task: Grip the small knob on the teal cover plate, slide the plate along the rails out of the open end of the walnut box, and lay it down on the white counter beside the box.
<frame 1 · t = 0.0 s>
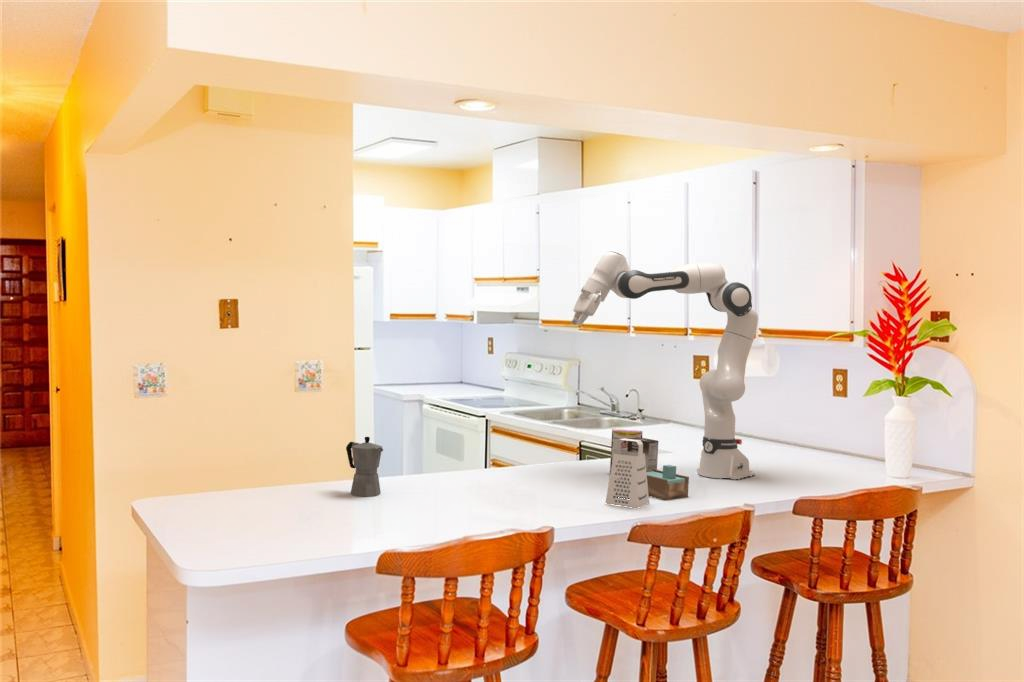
hand: (575, 324, 326), 54 cm above the table, tool tilted 30°, fingers open, 8 cm apart
walnut box: (658, 493, 299), on the table
coffeepot: (363, 494, 284), on the table
grater: (627, 504, 282), on the table
coffee box: (640, 486, 313), on the table
candy bar box: (625, 475, 332), on the table
cover plate: (660, 479, 299), point 5 cm above the table, touching walnut box
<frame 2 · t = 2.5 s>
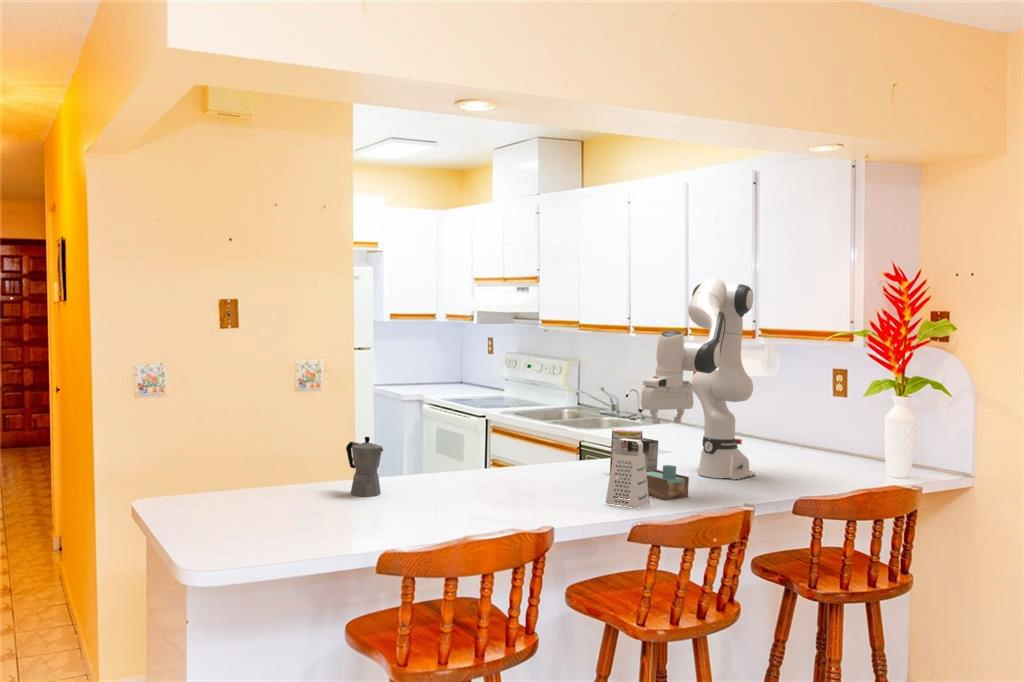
hand: (666, 423, 295), 24 cm above the table, tool pointing down, fingers open, 8 cm apart
nothing on the table moved.
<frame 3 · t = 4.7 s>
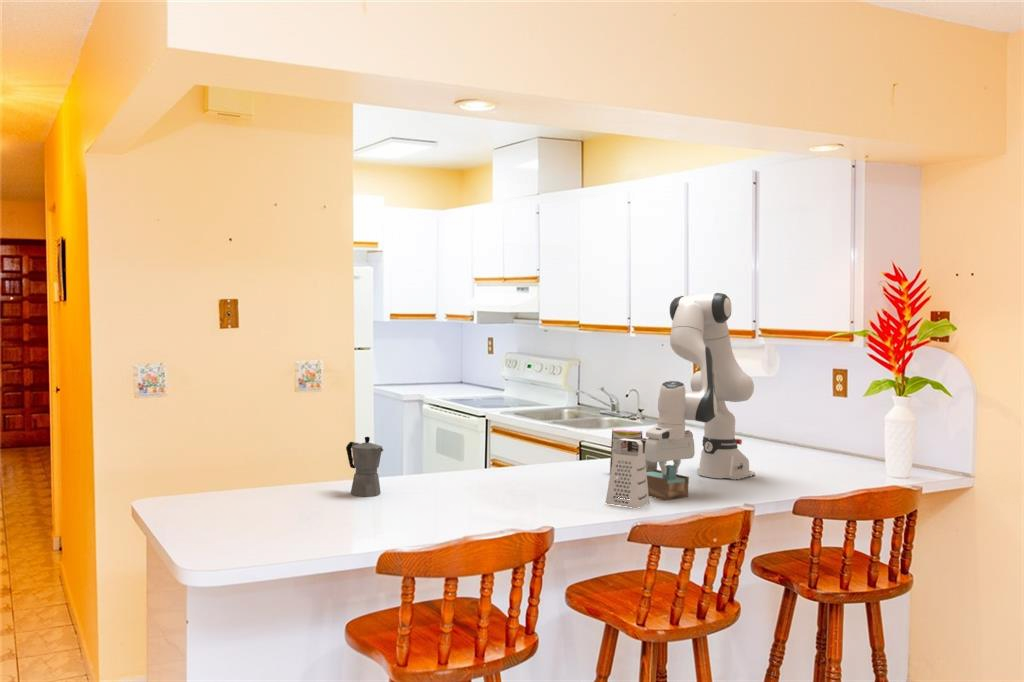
hand: (669, 473, 295), 7 cm above the table, tool pointing down, fingers closed on cover plate, 3 cm apart
cover plate: (660, 479, 299), point 5 cm above the table, touching gripper, walnut box
everything else where it was.
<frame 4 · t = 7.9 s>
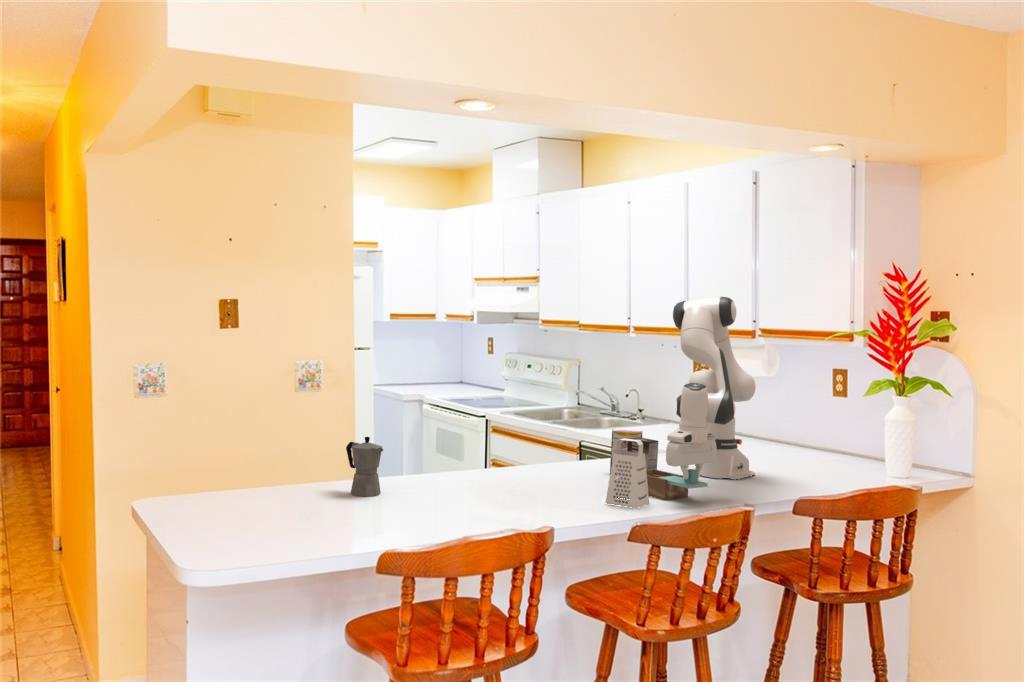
hand: (691, 478, 288), 8 cm above the table, tool pointing down, fingers closed on cover plate, 3 cm apart
cover plate: (681, 483, 291), point 5 cm above the table, touching gripper
everything else where it was.
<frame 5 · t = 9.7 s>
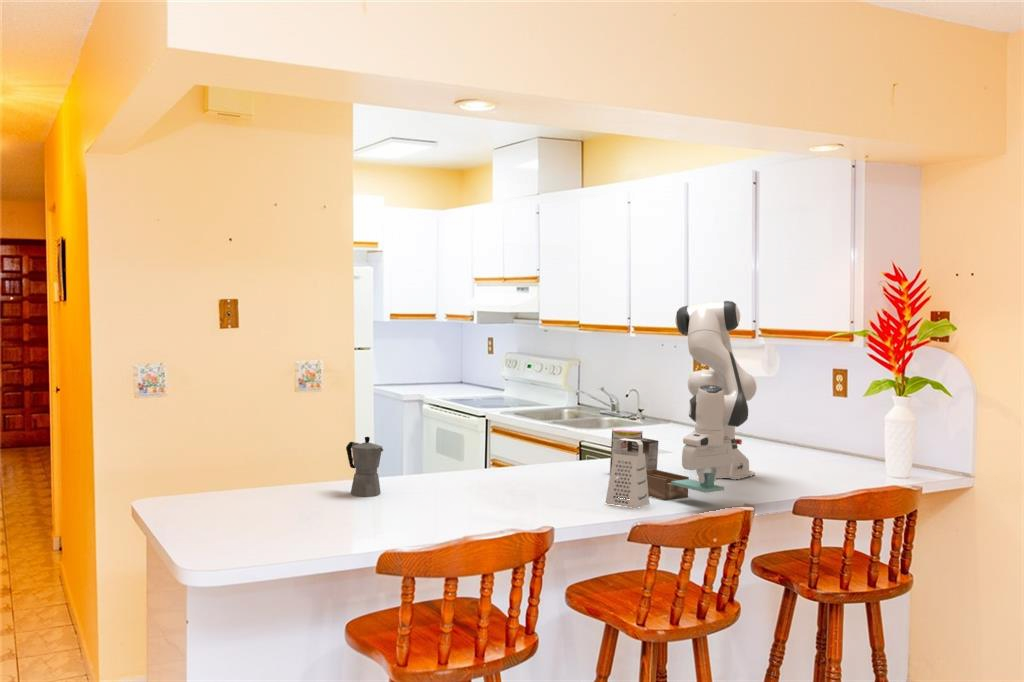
hand: (707, 481, 283), 8 cm above the table, tool pointing down, fingers closed on cover plate, 3 cm apart
cover plate: (697, 487, 286), point 5 cm above the table, touching gripper
everything else where it was.
when the fingers open (5 cm above the table, at t = 10.9 s): cover plate drops 3 cm, on the table.
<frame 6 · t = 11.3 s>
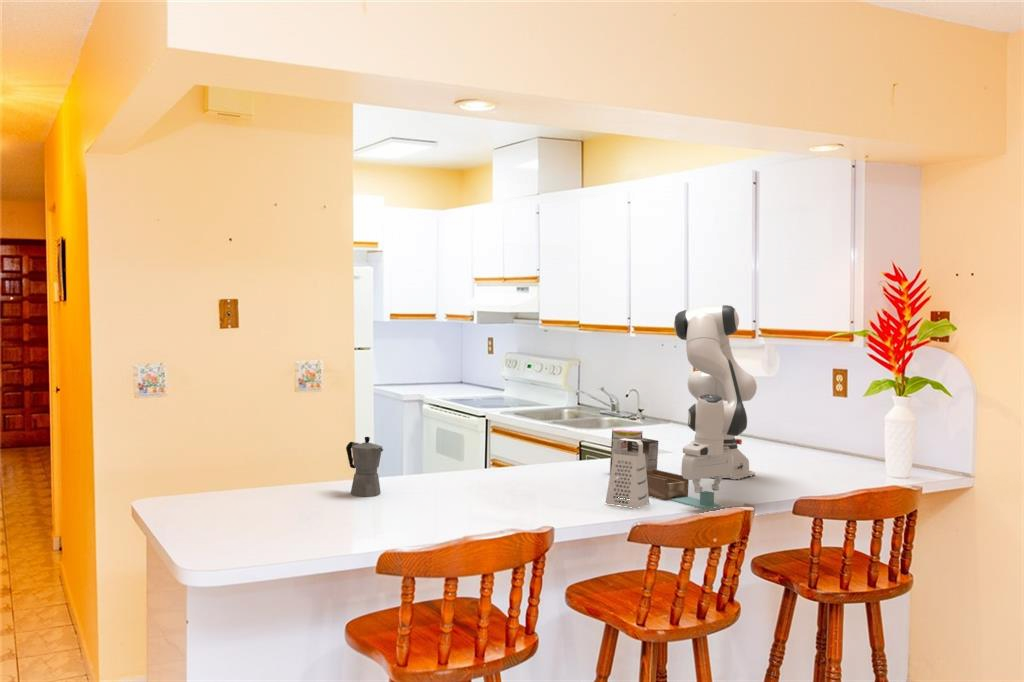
hand: (706, 491, 283), 5 cm above the table, tool pointing down, fingers open, 6 cm apart
cover plate: (696, 505, 286), on the table
everything else where it was.
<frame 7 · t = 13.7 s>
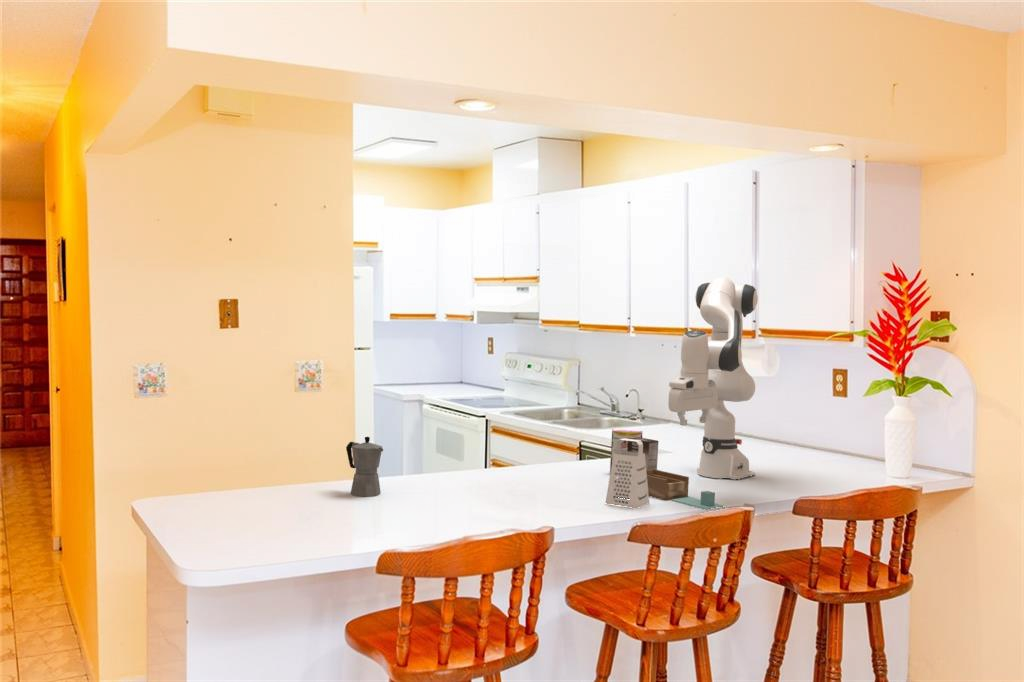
hand: (693, 423, 292), 24 cm above the table, tool pointing down, fingers open, 8 cm apart
nothing on the table moved.
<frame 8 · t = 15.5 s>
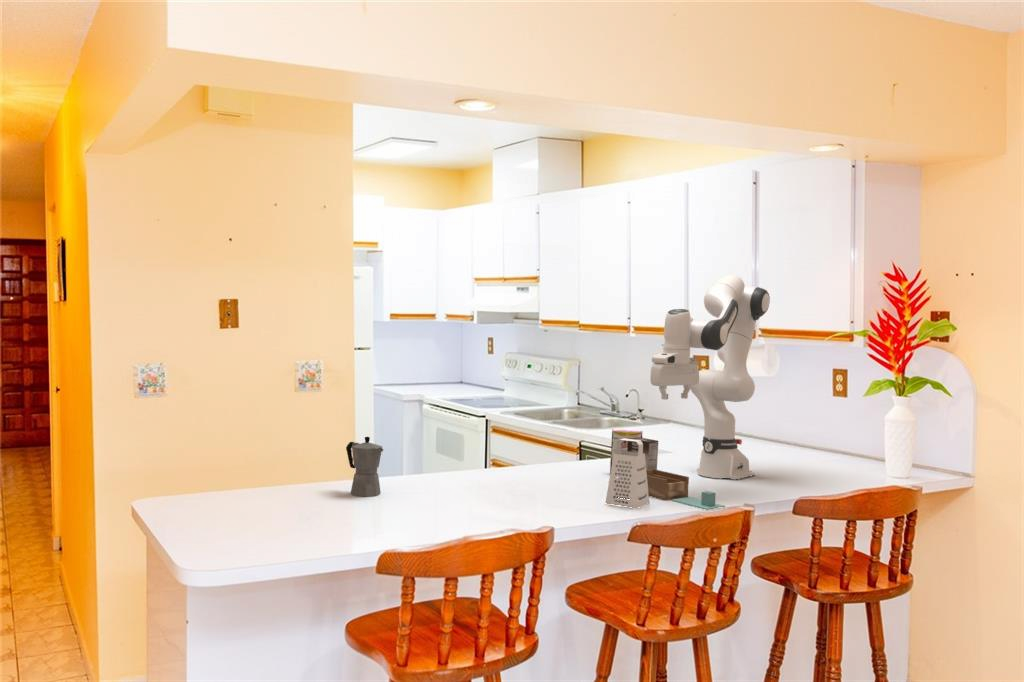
hand: (674, 398, 303), 31 cm above the table, tool pointing down, fingers open, 8 cm apart
nothing on the table moved.
at the end: cover plate inside the target area (1.2 cm from its centre), on the table; cover plate touching table; the gripper is holding nothing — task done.
